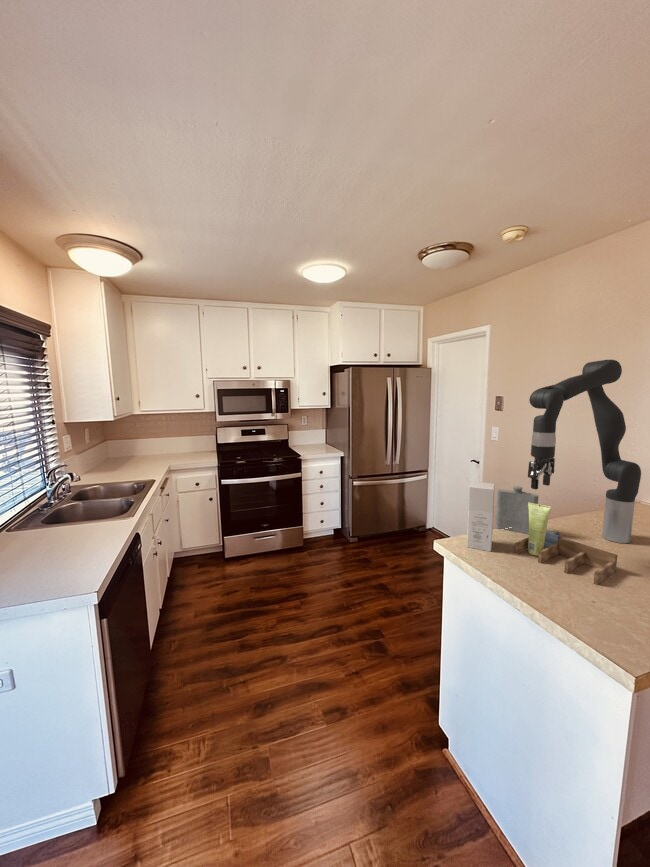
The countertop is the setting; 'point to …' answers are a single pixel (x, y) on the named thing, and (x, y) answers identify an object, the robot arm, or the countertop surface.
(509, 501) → the hip flask
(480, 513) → the tall white carton
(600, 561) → the wooden slatted rack
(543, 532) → the tube
